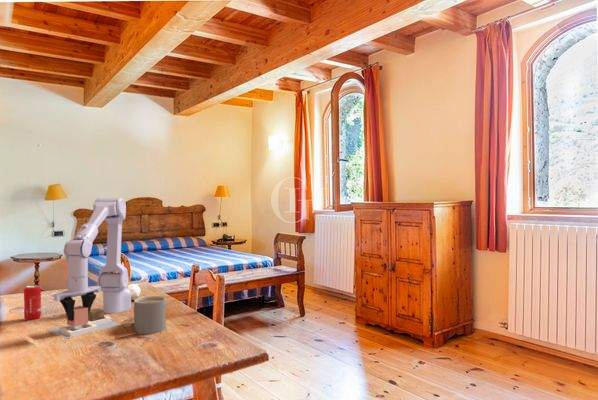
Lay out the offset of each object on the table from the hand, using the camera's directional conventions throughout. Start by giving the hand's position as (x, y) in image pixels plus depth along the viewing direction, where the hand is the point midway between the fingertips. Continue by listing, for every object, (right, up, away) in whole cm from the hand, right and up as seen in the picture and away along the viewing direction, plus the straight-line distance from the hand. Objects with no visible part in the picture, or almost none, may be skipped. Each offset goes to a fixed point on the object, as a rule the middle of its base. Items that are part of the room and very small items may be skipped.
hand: (78, 318), depth 136 cm
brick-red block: (0, -2, 0) cm, 2 cm away
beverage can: (-25, -5, +16) cm, 31 cm away
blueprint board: (0, -5, +4) cm, 6 cm away
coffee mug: (+21, -5, +5) cm, 22 cm away
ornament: (0, -5, +43) cm, 44 cm away
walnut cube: (+1, -4, +9) cm, 10 cm away
